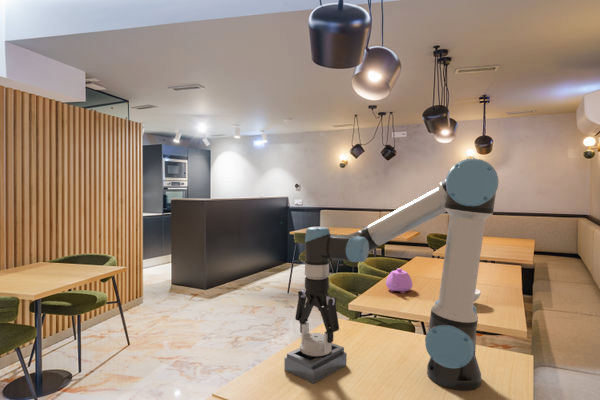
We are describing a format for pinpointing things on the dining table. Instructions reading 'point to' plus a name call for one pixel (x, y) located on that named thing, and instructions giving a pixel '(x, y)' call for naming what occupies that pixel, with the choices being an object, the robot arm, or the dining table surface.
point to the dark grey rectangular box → (315, 364)
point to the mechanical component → (313, 344)
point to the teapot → (399, 281)
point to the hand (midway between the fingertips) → (316, 347)
